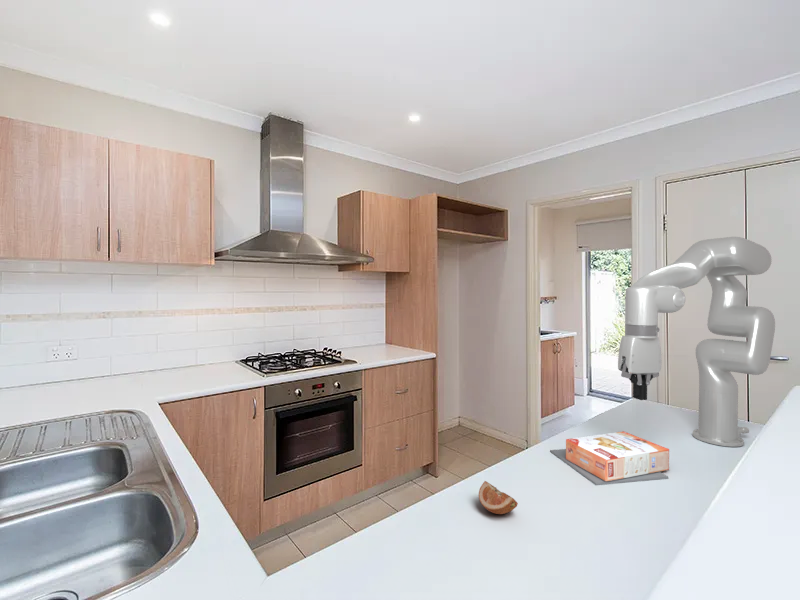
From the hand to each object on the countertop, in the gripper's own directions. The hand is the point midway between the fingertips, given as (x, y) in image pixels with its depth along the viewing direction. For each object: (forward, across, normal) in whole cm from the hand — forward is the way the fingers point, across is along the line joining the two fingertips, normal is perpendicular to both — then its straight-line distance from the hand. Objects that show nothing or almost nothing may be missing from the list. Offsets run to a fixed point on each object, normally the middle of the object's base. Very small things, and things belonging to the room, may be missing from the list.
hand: (639, 398), depth 107 cm
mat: (+17, +10, 0) cm, 20 cm away
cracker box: (+14, -2, 0) cm, 14 cm away
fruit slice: (+18, +48, +17) cm, 54 cm away
